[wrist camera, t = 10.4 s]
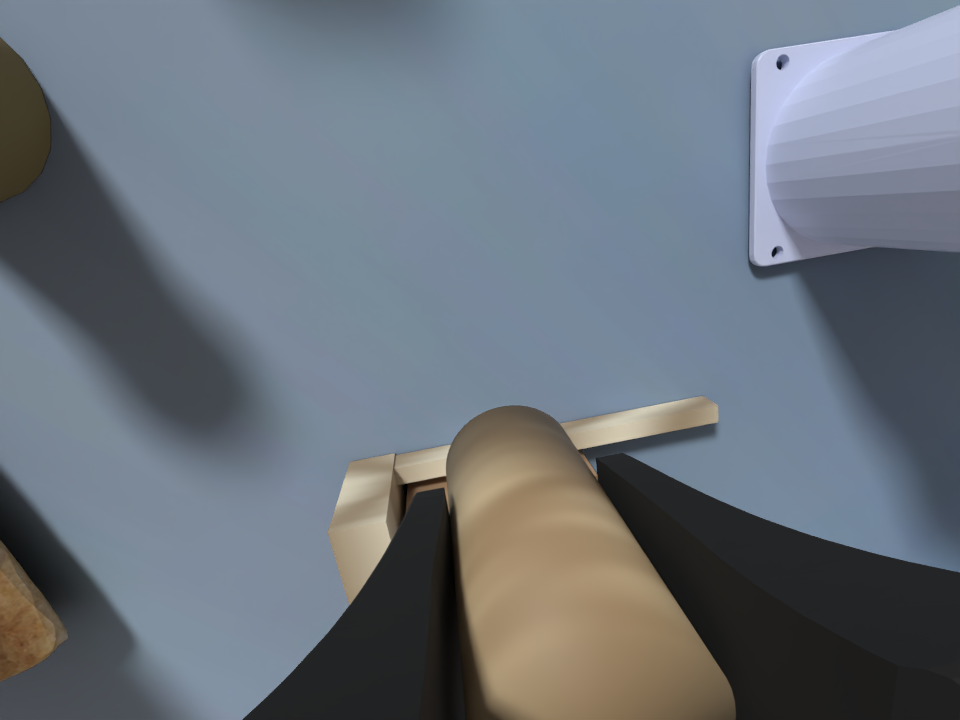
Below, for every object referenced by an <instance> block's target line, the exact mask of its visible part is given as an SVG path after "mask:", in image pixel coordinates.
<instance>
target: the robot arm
mask: <svg viewBox="0 0 960 720" xmlns="http://www.w3.org/2000/svg"><path fill="white" fill-rule="evenodd" d="M778 58H779V59H780V60H781V61H782V67H781V70H779V69H778V68H777V66H776V61H777V59H778ZM774 247H776V249H777V252H776V255H775V256H774V257H772V254H771V253H772V250H773V249H774ZM871 247H883V248H898V249H913V250H929V251H944V252H959V253H960V5H959V6H957V7H954V8H952V9H949V10H947V11H944V12H942V13H939V14H937V15H934V16H932V17H929V18H927V19H924V20H922V21H919V22H917V23H914V24H911V25H909V26H906V27H904V28H901V29H899V30H895V31H888V32H882V33H875V34H868V35H862V36H855V37H849V38H842V39H835V40H829V41H822V42H816V43H809V44H802V45H796V46H789V47H783V48H776V49H770V50H767V51H764V52H762V53H760V54H759V55H758V56H757V57H756V58H755V59H754V61H753V63H752V68H751V135H750V226H749V258H750V261H751V262H752V264H754V265H756V266H770V265H776V264H781V263H787V262H793V261H798V260H804V259H809V258H815V257H821V256H826V255H832V254H837V253H843V252H849V251H854V250H860V249H865V248H871ZM596 464H597V476H598V482H599V484H600V485H601V487H602V488H603V490H604V491H605V493H606V494H607V496H608V497H609V499H610V500H611V502H612V503H613V505H614V507H615V508H616V510H617V511H618V513H619V514H620V516H621V517H622V519H623V520H624V522H625V523H626V525H627V526H628V528H629V530H630V531H631V533H632V534H633V536H634V537H635V539H636V540H637V542H638V543H639V545H640V546H641V548H642V549H643V551H644V552H645V554H646V556H647V557H648V559H649V560H650V562H651V563H652V565H653V566H654V568H655V569H656V571H657V572H658V574H659V575H660V577H661V578H662V580H663V582H664V583H665V585H666V586H667V588H668V589H669V591H670V592H671V594H672V595H673V597H674V598H675V600H676V601H677V603H678V605H679V606H680V608H681V609H682V611H683V612H684V614H685V615H686V617H687V618H688V620H689V621H690V623H691V624H692V626H693V627H694V629H695V631H696V632H697V634H698V635H699V637H700V638H701V640H702V641H703V643H704V644H705V646H706V647H707V649H708V650H709V652H710V653H711V655H712V657H713V658H714V660H715V661H716V663H717V664H718V666H719V667H720V669H721V670H722V672H723V673H724V675H725V676H726V678H727V680H728V682H729V684H730V687H731V689H732V692H733V696H734V700H735V708H736V719H735V720H960V573H959V572H954V571H950V570H945V569H940V568H935V567H931V566H926V565H921V564H916V563H912V562H907V561H903V560H899V559H895V558H891V557H887V556H882V555H878V554H874V553H870V552H867V551H863V550H860V549H856V548H853V547H849V546H845V545H842V544H838V543H835V542H831V541H827V540H824V539H821V538H818V537H815V536H811V535H808V534H805V533H802V532H799V531H796V530H793V529H791V528H788V527H785V526H782V525H779V524H776V523H774V522H771V521H768V520H765V519H763V518H760V517H757V516H755V515H752V514H750V513H747V512H745V511H743V510H740V509H738V508H736V507H733V506H731V505H729V504H726V503H724V502H722V501H719V500H717V499H715V498H713V497H710V496H708V495H706V494H704V493H702V492H700V491H698V490H696V489H693V488H691V487H689V486H687V485H685V484H683V483H681V482H679V481H677V480H675V479H673V478H671V477H669V476H667V475H665V474H664V473H662V472H660V471H658V470H656V469H654V468H652V467H650V466H648V465H646V464H644V463H642V462H640V461H638V460H636V459H634V458H632V457H630V456H628V455H626V454H623V453H620V454H615V455H610V456H605V457H599V458H596ZM243 720H466V718H465V705H464V693H463V680H462V668H461V655H460V642H459V630H458V617H457V605H456V592H455V579H454V567H453V554H452V538H451V525H450V515H449V509H448V504H447V499H446V494H445V489H444V487H443V488H438V489H432V490H427V491H422V492H417V493H416V494H415V496H414V497H413V498H412V501H411V503H410V505H409V507H408V509H407V512H406V514H405V516H404V518H403V520H402V522H401V524H400V526H399V527H398V529H397V531H396V533H395V535H394V537H393V539H392V540H391V542H390V544H389V546H388V547H387V549H386V551H385V553H384V554H383V556H382V558H381V559H380V561H379V563H378V564H377V566H376V567H375V569H374V570H373V572H372V573H371V575H370V576H369V578H368V580H367V581H366V583H365V584H364V586H363V587H362V589H361V590H360V592H359V593H358V594H357V596H356V597H355V599H354V600H353V601H352V603H351V604H350V605H349V607H348V608H347V609H346V611H345V612H344V613H343V615H342V616H341V617H340V618H339V620H338V621H337V622H336V624H335V625H334V626H333V627H332V629H331V630H330V631H329V632H328V633H327V635H326V636H325V637H324V638H323V639H322V640H321V641H320V642H319V643H318V644H317V646H316V647H315V648H314V649H313V650H312V651H311V652H310V653H309V654H308V655H307V656H306V657H305V659H304V660H303V661H302V662H301V663H300V664H299V665H298V666H297V667H296V668H295V669H294V671H293V672H292V673H291V674H290V675H289V676H288V677H287V678H286V679H285V680H284V681H283V682H282V683H281V684H280V685H279V686H278V687H277V688H276V689H275V690H274V691H273V692H271V693H270V694H269V695H268V696H267V697H266V698H265V699H264V700H263V701H262V702H261V703H260V704H259V705H258V706H257V707H256V708H255V709H253V710H252V711H251V712H250V713H249V714H248V715H247V716H246V717H245V718H244V719H243Z"/></svg>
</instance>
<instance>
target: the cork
mask: <svg viewBox="0 0 960 720" xmlns="http://www.w3.org/2000/svg"><path fill="white" fill-rule="evenodd" d="M50 149H51V119H50V115H49V112H48V109H47V106H46V103H45V100H44V96H43V93H42V90H41V87H40V86H39V84H38V83H37V81H36V80H35V78H34V76H33V75H32V73H31V72H30V70H29V69H28V67H27V65H26V64H25V62H24V61H23V59H22V58H21V57H20V56H19V55H18V54H17V53H16V52H15V51H14V50H13V49H12V48H11V47H10V46H9V45H8V44H7V43H6V42H4V41H3V40H2V39H1V38H0V202H2V201H4V200H6V199H8V198H11V197H13V196H15V195H17V194H19V193H22V192H24V191H25V190H26V189H27V188H28V187H29V186H30V185H31V183H32V182H33V181H34V180H35V179H36V178H37V177H38V176H39V175H40V174H41V173H42V170H43V167H44V165H45V162H46V159H47V157H48V154H49V151H50Z"/></svg>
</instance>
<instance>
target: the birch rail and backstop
mask: <svg viewBox="0 0 960 720" xmlns="http://www.w3.org/2000/svg"><path fill="white" fill-rule="evenodd" d="M716 422H718V405H716V404H715V403H713V402H712V401H710V400H709V399H707V398H706V397H704V396H700V397H695V398H690V399H684V400H679V401H674V402H669V403H664V404H658V405H653V406H648V407H643V408H638V409H633V410H627V411H622V412H617V413H612V414H607V415H601V416H596V417H591V418H586V419H581V420H576V421H570V422H565V423H560V425H561V426H562V427H563V429H564V430H565V432H566V433H567V435H568V436H569V438H570V439H571V441H572V442H573V444H574V445H575V447H576V448H577V450H579V449H584V448H589V447H594V446H599V445H605V444H610V443H615V442H620V441H625V440H630V439H635V438H640V437H645V436H650V435H655V434H661V433H666V432H671V431H676V430H681V429H686V428H691V427H696V426H701V425H706V424H711V423H716ZM450 446H451V445H446V446H441V447H436V448H430V449H425V450H420V451H415V452H410V453H405V454H399V455H395V453H394V454H389V455H383V456H378V457H373V458H368V459H363V460H357V461H352V462H350V463H349V467H348V470H347V473H346V476H345V479H344V483H343V486H342V489H341V492H340V495H339V499H338V502H337V505H336V508H335V511H334V515H333V518H332V521H331V524H330V527H329V531H328V535H329V539H330V542H331V546H332V549H333V552H334V556H335V559H336V562H337V566H338V569H339V572H340V576H341V579H342V582H343V586H344V589H345V592H346V596H347V599H348V602H349V605H350V604H351V603H352V601H353V600H354V599H355V597H356V596H357V594H358V593H359V592H360V590H361V589H362V587H363V586H364V584H365V583H366V581H367V580H368V578H369V576H370V575H371V573H372V572H373V570H374V569H375V567H376V566H377V564H378V563H379V561H380V559H381V558H382V556H383V554H384V553H385V551H386V549H387V547H388V546H389V544H390V542H391V540H392V539H393V537H394V535H395V533H396V531H397V529H398V527H399V526H400V524H401V522H402V520H403V518H404V516H405V514H406V503H407V502H406V498H405V494H404V490H403V485H402V484H406V483H411V482H416V481H421V480H427V479H432V478H437V477H442V476H446V460H447V455H448V452H449V448H450Z"/></svg>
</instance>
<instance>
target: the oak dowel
mask: <svg viewBox="0 0 960 720" xmlns="http://www.w3.org/2000/svg"><path fill="white" fill-rule="evenodd" d="M446 479H447V491H448V504H449V515H450V525H451V538H452V554H453V567H454V579H455V592H456V605H457V617H458V630H459V642H460V655H461V668H462V680H463V693H464V705H465V718H466V720H735V719H736V708H735V700H734V696H733V692H732V689H731V687H730V684H729V682H728V680H727V678H726V676H725V675H724V673H723V672H722V670H721V669H720V667H719V666H718V664H717V663H716V661H715V660H714V658H713V657H712V655H711V653H710V652H709V650H708V649H707V647H706V646H705V644H704V643H703V641H702V640H701V638H700V637H699V635H698V634H697V632H696V631H695V629H694V627H693V626H692V624H691V623H690V621H689V620H688V618H687V617H686V615H685V614H684V612H683V611H682V609H681V608H680V606H679V605H678V603H677V601H676V600H675V598H674V597H673V595H672V594H671V592H670V591H669V589H668V588H667V586H666V585H665V583H664V582H663V580H662V578H661V577H660V575H659V574H658V572H657V571H656V569H655V568H654V566H653V565H652V563H651V562H650V560H649V559H648V557H647V556H646V554H645V552H644V551H643V549H642V548H641V546H640V545H639V543H638V542H637V540H636V539H635V537H634V536H633V534H632V533H631V531H630V530H629V528H628V526H627V525H626V523H625V522H624V520H623V519H622V517H621V516H620V514H619V513H618V511H617V510H616V508H615V507H614V505H613V503H612V502H611V500H610V499H609V497H608V496H607V494H606V493H605V491H604V490H603V488H602V487H601V485H600V484H599V482H598V481H597V479H596V477H595V476H594V474H593V473H592V471H591V470H590V468H589V467H588V465H587V464H586V462H585V461H584V459H583V458H582V456H581V454H580V453H579V451H578V450H577V448H576V447H575V445H574V444H573V442H572V441H571V439H570V438H569V436H568V435H567V433H566V432H565V430H564V429H563V427H562V426H561V425H560V424H559V423H558V422H557V421H556V420H555V419H554V418H552V417H551V416H549V415H548V414H546V413H544V412H542V411H540V410H537V409H535V408H531V407H526V406H503V407H498V408H494V409H491V410H488V411H486V412H484V413H482V414H480V415H478V416H476V417H475V418H473V419H472V420H471V421H469V422H468V423H467V424H466V425H465V426H464V427H463V428H462V429H461V430H460V431H459V432H458V434H457V435H456V437H455V438H454V440H453V442H452V444H451V446H450V448H449V452H448V455H447V460H446Z"/></svg>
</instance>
